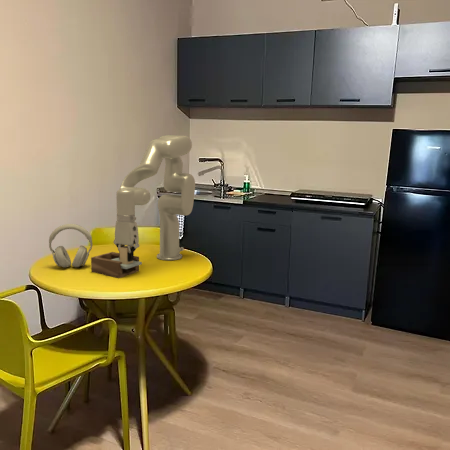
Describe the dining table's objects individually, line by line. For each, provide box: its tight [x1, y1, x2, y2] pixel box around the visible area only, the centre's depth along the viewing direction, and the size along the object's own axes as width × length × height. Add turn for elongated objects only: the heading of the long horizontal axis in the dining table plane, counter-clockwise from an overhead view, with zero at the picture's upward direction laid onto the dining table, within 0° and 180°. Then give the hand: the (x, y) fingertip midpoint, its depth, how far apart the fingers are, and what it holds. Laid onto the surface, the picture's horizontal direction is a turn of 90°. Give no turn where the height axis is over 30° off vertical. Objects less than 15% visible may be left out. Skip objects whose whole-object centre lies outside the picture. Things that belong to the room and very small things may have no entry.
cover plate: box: [111, 245, 143, 269], centre depth 199 cm, size 10×14×8 cm
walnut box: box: [90, 251, 140, 279], centre depth 202 cm, size 13×16×7 cm
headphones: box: [48, 223, 93, 269], centre depth 206 cm, size 18×10×20 cm, turn 100°
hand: (126, 259), depth 198 cm, fingers closed on cover plate, 4 cm apart
